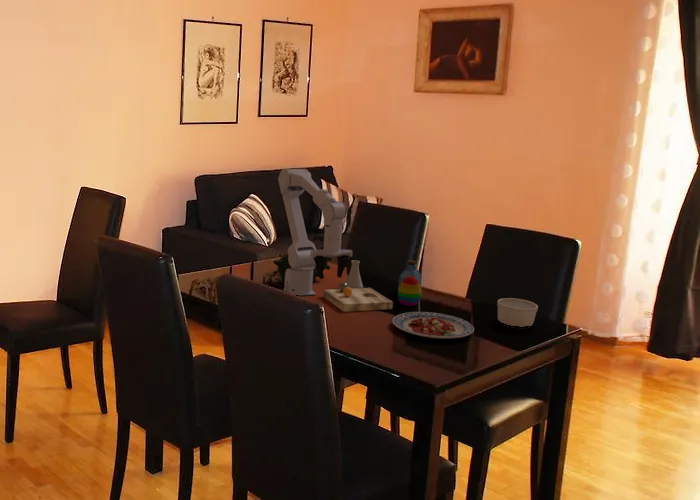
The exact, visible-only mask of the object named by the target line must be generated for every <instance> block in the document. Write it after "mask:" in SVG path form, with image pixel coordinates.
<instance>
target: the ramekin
mask: <svg viewBox="0 0 700 500" xmlns="http://www.w3.org/2000/svg"><path fill="white" fill-rule="evenodd" d="M496 302H497V304H496V305H497V320H498V322H499V321H500V322H501V323H504V324H507V325H511V326H519V327H525V326H530V327H531V326H532V325H533V324H534V323H535V322H534V321H535V318H536V316H537V315H536V314H537V312H538V309H539V306H538V304H536V303H534V302H533V301H529V300H526V299H522V298H515V297H514V298H513V297H507V298H500V299H498V300H497V301H496ZM500 322H499V323H500ZM501 323H500V324H501Z"/></svg>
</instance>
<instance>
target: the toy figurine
mask: <svg viewBox="0 0 700 500" xmlns="http://www.w3.org/2000/svg"><path fill="white" fill-rule="evenodd" d="M317 240H319V241H320V242H321V243H322V245H321V247H320V249H319V250H322V249H323V248H324V234H322V233H321V234H320V233H319V234H317V235H315V236H314V237H313V238H312V241H313V242H315V241H317ZM323 259H324V260H325V263H324V268H323V271H325V270H327V271H329V270H331V266H330V265H329V264H328V263H329V262H331V261H332V260H333V259H332V257H323ZM272 263H273V264H274V265H275V266H277V272H278V274H279V275H280V276H281V278H280V282H282V284H285V272H286V270H287V269H291V266H290V264H289V261H288V253H286V254H284V255H282V256H281V257H280V258H279V259H277V260H273V261H272ZM316 278H319V277H318V270H317V266H315V269H313V281H312V284H314V283H315V282H316V281H317V279H316ZM324 278H325V275H324V273H323V278H319V279H320V280H322V279H324Z"/></svg>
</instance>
